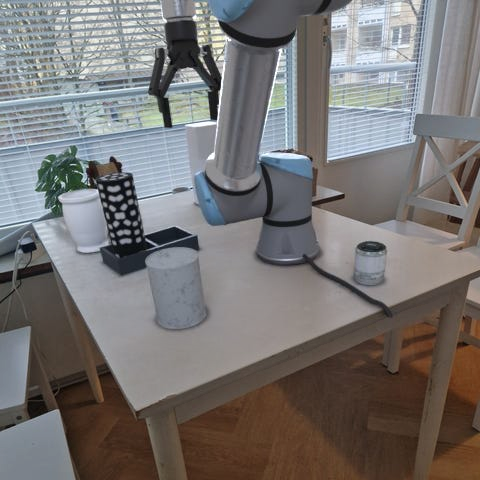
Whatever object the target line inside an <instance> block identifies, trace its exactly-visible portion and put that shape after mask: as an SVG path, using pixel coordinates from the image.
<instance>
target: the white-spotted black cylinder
mask: <svg viewBox="0 0 480 480" xmlns="http://www.w3.org/2000/svg"><path fill="white" fill-rule="evenodd" d="M94 181H95V185H96V186H97V188H98V192H99V196H100V200H101V204H102V209H103V213H104V217H105V221H106V225H107V234H108V236H109V241H110V244H111V245H112V250H113V254H114V255H115V256H116V257H118V258H119V259H120V258H123V257H126V256H129V255H132V254H135V253H138V252H142V251H145V250H148V249H147V244H146V239H145V234H146V233H145V229H144V224H143V220H142V214H141V210H140V209H141V208H140V204H139V200H138V195H137V190H136V185H135V184H136V183H135V179H134V175H133V173H132V172H129V171H127V172H126V171H122V172H119V173H111V174H106V175H102V176H99V177H97V178H96V179H95V180H94Z"/></svg>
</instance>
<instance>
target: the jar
mask: <svg viewBox="0 0 480 480" xmlns="http://www.w3.org/2000/svg"><path fill="white" fill-rule="evenodd" d="M99 197H100V196H99V192H98V190H97V189H89V188H82V189H76V190H71V191H68V192H65V193H62V194H60V195H58V197H57V199H58V201H59V202H60V203H61V208H62V215H63V220H64V223H65V225H66V228H67V229H68V231H69V233H70V236H71V238H72V239H73V241H74V242H75V244H76V245H77V247H76V248H77V251H78V252H79V253H82V254H93V253H98V252H100V247H104V246H107V245H110V242H109V241H108V240H107V238H108V229H107V225H106V221H105V217H104V213H103V209H102V204H101V200H100V198H99Z"/></svg>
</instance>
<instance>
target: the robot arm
mask: <svg viewBox="0 0 480 480" xmlns="http://www.w3.org/2000/svg"><path fill="white" fill-rule="evenodd" d="M352 1H353V0H207V2H208V6H209V9H210V12H211V14H212V15H213V16H214V18H215V19H216V20H217V26H218V29H219V30H220V32H221V33H222V34H223V35H224V36H225V47H224V54H223V55H224V56H223V65H222V66H223V67H222V74H221V73H220V70H219V68H218V66H217V64H216V61H215V59H214V57H213V54H212V49H211V45H210V44H201V46H200V45H199V32H198V31H199V30H198V23H197V21H196V20H195V19H196V18H197V10H196V3H195V0H160V8H161V16H162V20H163V21H165V23H164V25H163V30H164V38H165V42H166V48H164V47H161V46H160V47H156V48H155V49H154V63H153V68H152V72H151V77H150V80H149V81H150V82H149V86H148V90H147V94H148V95H149V96H152V97H154V98H156V101H157V109H158V112H159V113H160V114H162V120H163V126H164V128H165V129H172V128H173V121H172V114H171V107H170V101H169V100H170V99H169V97H166V94H167V92H168V90H169V88H170V86H171V84H172V82H173V79H174V78H175V75H176V74H177V72H178V71H179V70H185V69H193V70H194V71H195V72H196V73H197V74H198V76H199V77H200V78H201V80H202V81H203V83H204V84H205V85H206V86H207V87H208V89H209V91H207V101H208V111H209V117H210V121H216V123H217V132H216V141H215V151H214V153H213V154H212V155H210V156H209V158H208V159H207V161H206V165H205V171H204V172H202V171H200V172H199V173H196V174H195V176H194V185H195V191H196V195H197V199H198V202H199V205H198V206H199V208H200V210H201V214H202V217H203V218H204V220H205V222H206V223H207V224H208V225H209V226H211V227H219V226H227V225H231V224H236V223H240V222H241V223H242V222H246V221H250V220H255V219H262V220H261V221H262V222H261V223H262V224H261V228H260V232H259V236H258V237H259V238H258V241H257V243H256V247H255V249H256V257H257V258H258V259H259V260H261V261H262V262H265V263H266V264H271V265H277V266H293V265H301V264H306V263H308V264H309V265H310V266H311V267H312V268H313V269H314V270H315V271H317V272H318V273H319V274H321V275H323V276H324V277H327V278H329V279H331V280H332V281H335V282H337V283H338V284H341V285H342V286H344V287H346V288H347V289H349V290H351V291H352V292H354V293H355V294H357V295H358V296H359V297H361V298H362V299H364V300H366V301H367V302H369V303H370V304H372V305H374V306H375V305H376V306H378V307H379V308H381V309H382V310H383V311H384V312H385V314H386V317H387V318H390V319H392V318H393V317H394V315H393V313H392V311H391V309H390V307H388V306H387V304H386V303H385V302H383V301H381V300H377V299H375V298H373V297H371V296H369V295H368V294H366V293H365V292H363V291H362V290H360V289H358V288H357V287H355V286H354V285H353V284H351V283H349V282H347V281H346V280H344V279H343V278H340V277H338V276H336V275H334V274H332V273H329V272H328V271H326V270H324V269H322V267H319V266H318V265H317V264H316V262H314V261H313V260H314V259H316V258H317V257H318V255H319V254H320V245H319V240H318V238H317V235H316V231H315V228H314V225H313V180H314V175H313V163H312V160H311V159H310V158H309V157H307V156H305V155H302V154H297V153H290V152H265V153H261V154H260V151H261V146H262V141H263V137H264V132H265V127H266V122H267V119H268V114H269V109H270V106H271V105H270V104H271V100H272V95H273V91H274V86H275V82H276V76H277V72H278V68H279V65H280V64H279V63H280V58H281V55H282V50H283V49H284V48H285V47H287V46H289V45H290V44H291V43H292V42H293V41H294V39H295V36H296V34H297V29H298V26H299V21H300V18H301V17H308V16H309V17H310V16H311V17H312V16H321V15H328V14H332V13H335V12H337V11H340V10H341V9H344V8H345V7H346V6H348V5H350V3H351V2H352ZM200 56H201V58H202V60H203V61H202V60H201V59H200V58H199V57H200ZM167 57H168V59H169V62H168V64H167V66H166V71H165V73H164V75H163V72H164V67H165V61H166V59H167ZM203 62H204V63H203ZM204 64H205V66H206V67H205V66H204ZM219 92H220V93H219ZM259 154H260V155H259Z"/></svg>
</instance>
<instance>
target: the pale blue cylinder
mask: <svg viewBox="0 0 480 480" xmlns="http://www.w3.org/2000/svg"><path fill="white" fill-rule="evenodd" d="M199 256H200V255H199V252H198V250H196V251H195V250H194V249H191V248H185V247H174V248H167V249H163V250H159V251H157V252H154V253H152V254H150V255H149V256H148V257H147V258H146V260H145V263H146V265H147V267H146V271H147V275H148V279H149V284H150V290H151V294H152V299H153V305H154V309H155V313H156V314H155V315H156V321H157V323H158V324H159V325H160V326H161V327H163V328H165V329H169V330H183V329H184V330H185V329H189V328H192V327H194V326H197V325H198V324H200V323H202V322H203V321H204V319H205V318H206V317H207V310H206V305H205V298H204V290H203V283H202V276H201V268H200V267H201V266H200V260H199V259H200V258H199Z"/></svg>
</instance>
